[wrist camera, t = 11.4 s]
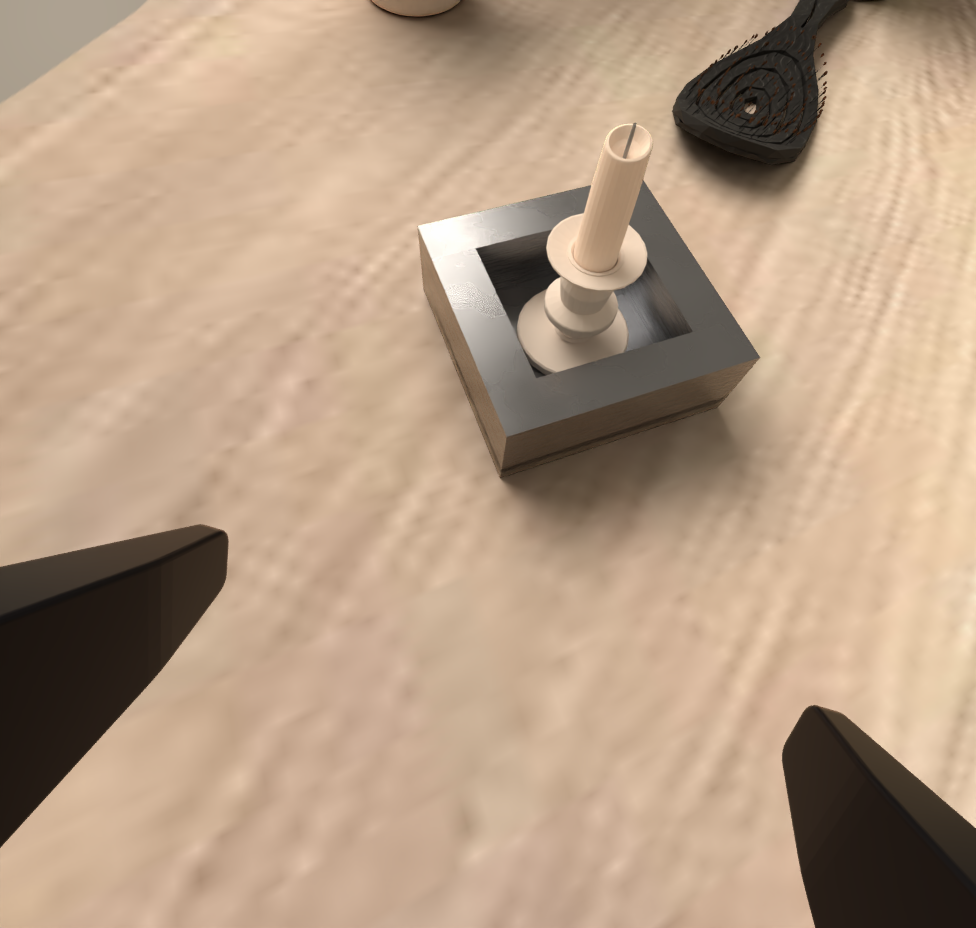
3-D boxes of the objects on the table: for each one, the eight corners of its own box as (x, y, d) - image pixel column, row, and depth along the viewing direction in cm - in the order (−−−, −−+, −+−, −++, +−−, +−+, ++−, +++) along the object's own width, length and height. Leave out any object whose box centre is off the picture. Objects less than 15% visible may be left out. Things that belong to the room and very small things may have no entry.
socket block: (718, 406, 26) (760, 357, 22) (499, 478, 24) (506, 436, 20) (617, 238, 30) (639, 174, 26) (423, 288, 28) (417, 225, 24)
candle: (593, 403, 25) (677, 212, 15) (494, 347, 26) (515, 135, 16) (644, 324, 26) (748, 110, 17) (551, 275, 27) (599, 47, 18)
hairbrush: (912, -37, 38) (806, 146, 28) (875, 24, 42) (768, 209, 31) (799, -75, 40) (659, 86, 30) (772, -13, 43) (638, 151, 33)
